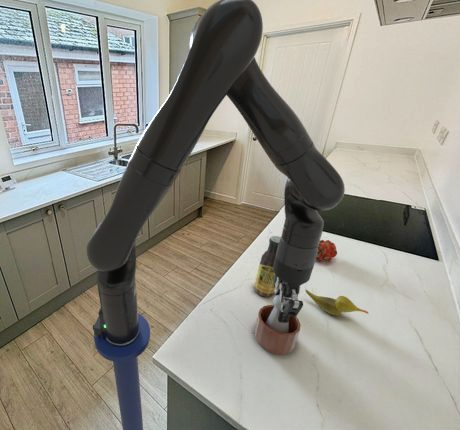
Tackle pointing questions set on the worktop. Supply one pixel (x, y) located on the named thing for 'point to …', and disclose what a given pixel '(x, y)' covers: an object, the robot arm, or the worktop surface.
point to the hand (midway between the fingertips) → (280, 313)
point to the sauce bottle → (267, 269)
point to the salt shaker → (273, 318)
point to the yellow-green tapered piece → (335, 304)
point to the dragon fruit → (326, 251)
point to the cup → (276, 333)
